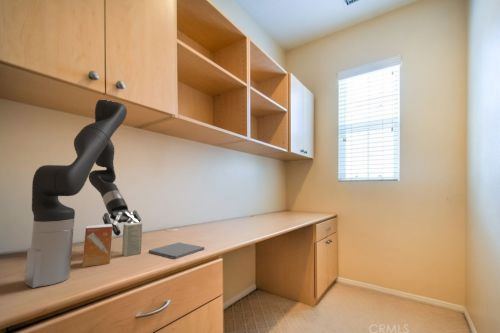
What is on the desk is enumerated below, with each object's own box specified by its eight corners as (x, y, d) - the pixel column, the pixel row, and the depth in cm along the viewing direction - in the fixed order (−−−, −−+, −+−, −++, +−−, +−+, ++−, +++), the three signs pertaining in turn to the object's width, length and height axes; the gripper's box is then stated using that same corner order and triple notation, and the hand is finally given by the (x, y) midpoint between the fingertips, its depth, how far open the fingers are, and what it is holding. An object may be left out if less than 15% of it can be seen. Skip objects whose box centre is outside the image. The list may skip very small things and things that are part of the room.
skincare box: (137, 251, 96) (139, 222, 97) (141, 253, 93) (143, 223, 94) (121, 254, 92) (123, 223, 93) (124, 256, 89) (126, 224, 90)
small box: (82, 267, 77) (85, 227, 78) (83, 262, 82) (85, 225, 83) (110, 263, 81) (112, 226, 82) (109, 258, 86) (112, 223, 87)
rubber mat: (175, 259, 87) (175, 256, 87) (148, 252, 95) (148, 250, 95) (204, 249, 100) (204, 247, 101) (178, 244, 109) (178, 242, 109)
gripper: (101, 197, 94) (115, 229, 87) (134, 196, 106) (148, 224, 100) (93, 210, 96) (107, 241, 89) (126, 207, 109) (140, 235, 102)
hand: (129, 232), depth 95 cm, fingers open, 8 cm apart
